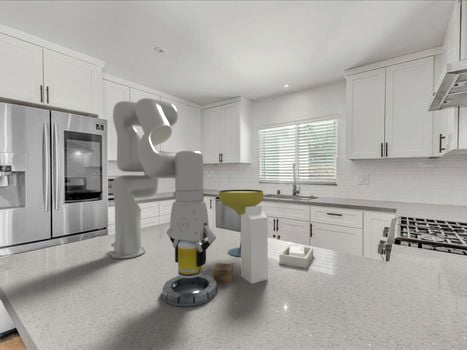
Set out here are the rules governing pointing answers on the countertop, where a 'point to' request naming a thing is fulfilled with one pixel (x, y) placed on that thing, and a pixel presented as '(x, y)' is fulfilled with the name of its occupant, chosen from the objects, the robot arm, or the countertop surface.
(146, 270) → the countertop surface
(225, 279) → the walnut block
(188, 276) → the pill bottle
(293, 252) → the soap
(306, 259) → the soap dish
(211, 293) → the collar
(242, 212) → the cocktail glass
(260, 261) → the milk
